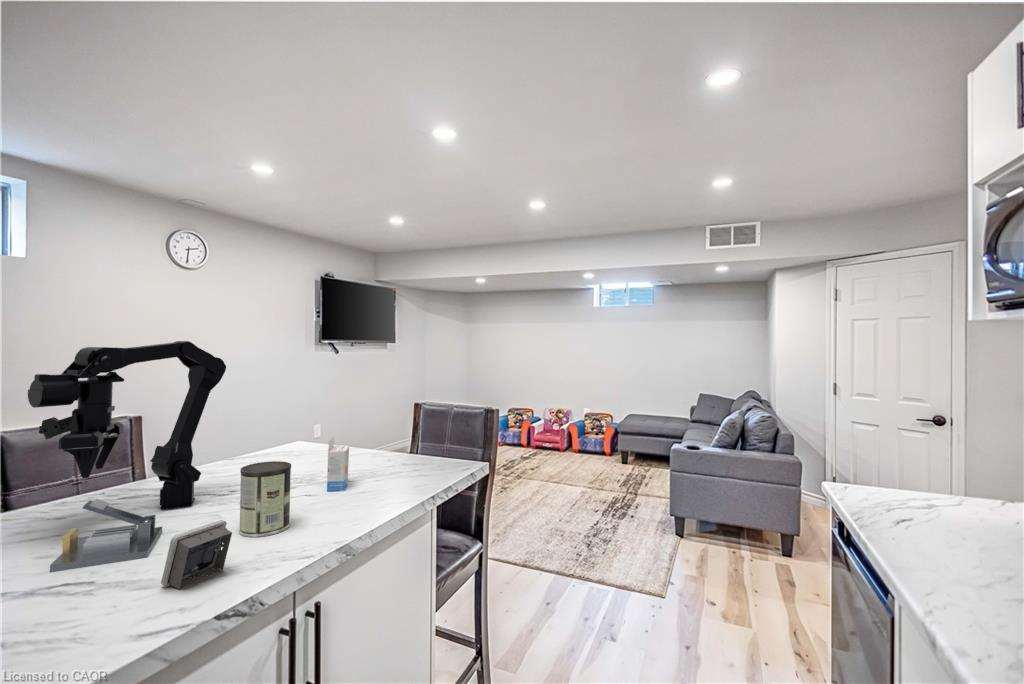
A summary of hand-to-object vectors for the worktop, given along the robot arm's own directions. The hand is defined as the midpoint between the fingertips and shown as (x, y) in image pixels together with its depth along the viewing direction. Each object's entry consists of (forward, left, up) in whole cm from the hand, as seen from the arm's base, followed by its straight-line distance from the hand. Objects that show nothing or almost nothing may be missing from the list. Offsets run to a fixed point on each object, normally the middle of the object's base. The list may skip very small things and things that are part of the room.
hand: (92, 473), depth 103 cm
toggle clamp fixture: (-7, +15, -13) cm, 21 cm away
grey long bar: (-8, +15, -6) cm, 18 cm away
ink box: (-53, -12, -13) cm, 56 cm away
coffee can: (-34, +15, -13) cm, 40 cm away
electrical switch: (-24, +36, -13) cm, 45 cm away
